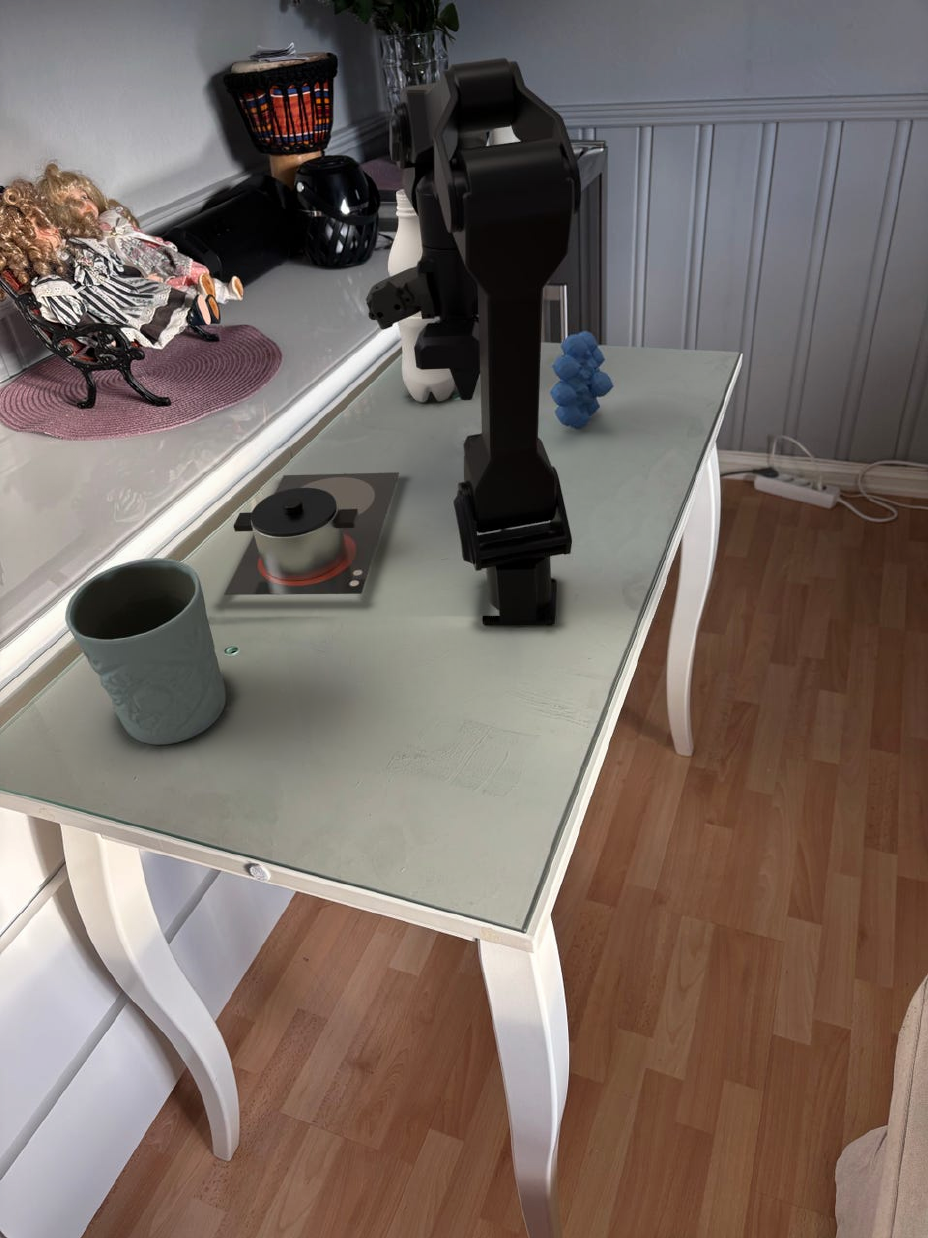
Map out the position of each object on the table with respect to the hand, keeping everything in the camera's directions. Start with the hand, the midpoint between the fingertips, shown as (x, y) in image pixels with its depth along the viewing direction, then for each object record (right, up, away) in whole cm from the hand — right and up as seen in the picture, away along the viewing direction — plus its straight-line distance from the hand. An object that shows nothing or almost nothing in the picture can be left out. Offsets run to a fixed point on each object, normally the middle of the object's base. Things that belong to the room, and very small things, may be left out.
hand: (466, 398), depth 93 cm
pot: (-16, -16, -2) cm, 23 cm away
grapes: (+14, 0, +16) cm, 22 cm away
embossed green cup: (-24, -30, -16) cm, 42 cm away
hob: (-15, -14, +2) cm, 21 cm away
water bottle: (-4, +7, +27) cm, 29 cm away
